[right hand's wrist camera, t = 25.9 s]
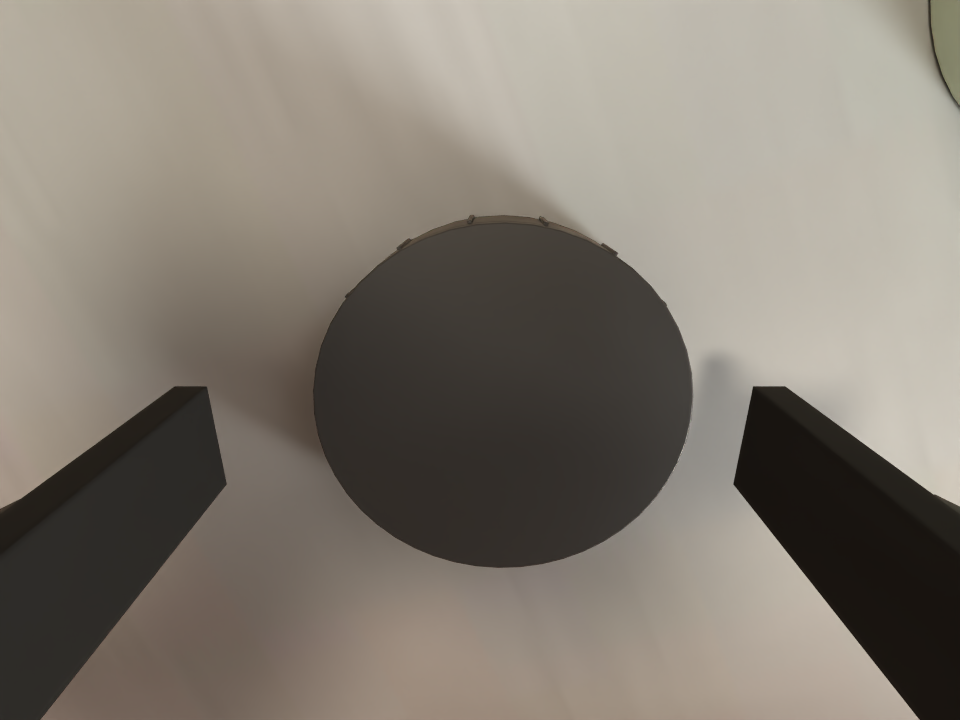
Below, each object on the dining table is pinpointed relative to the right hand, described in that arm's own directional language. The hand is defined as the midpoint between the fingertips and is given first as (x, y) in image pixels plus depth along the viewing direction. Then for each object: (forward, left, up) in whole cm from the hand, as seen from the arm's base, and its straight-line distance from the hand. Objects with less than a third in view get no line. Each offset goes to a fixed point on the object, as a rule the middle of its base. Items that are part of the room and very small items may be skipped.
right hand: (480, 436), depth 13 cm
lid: (+1, 0, -2) cm, 2 cm away
